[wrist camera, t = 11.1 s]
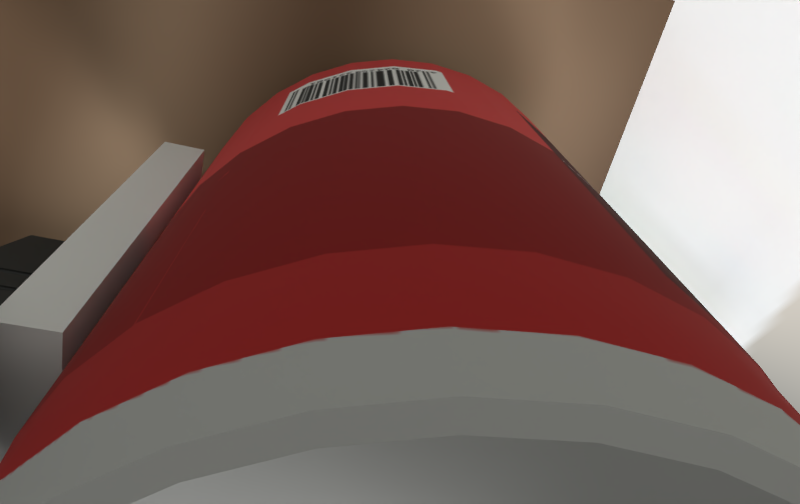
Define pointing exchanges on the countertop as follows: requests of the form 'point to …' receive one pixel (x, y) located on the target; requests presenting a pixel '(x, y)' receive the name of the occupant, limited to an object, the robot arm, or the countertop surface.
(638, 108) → the countertop surface
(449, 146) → the canned food
